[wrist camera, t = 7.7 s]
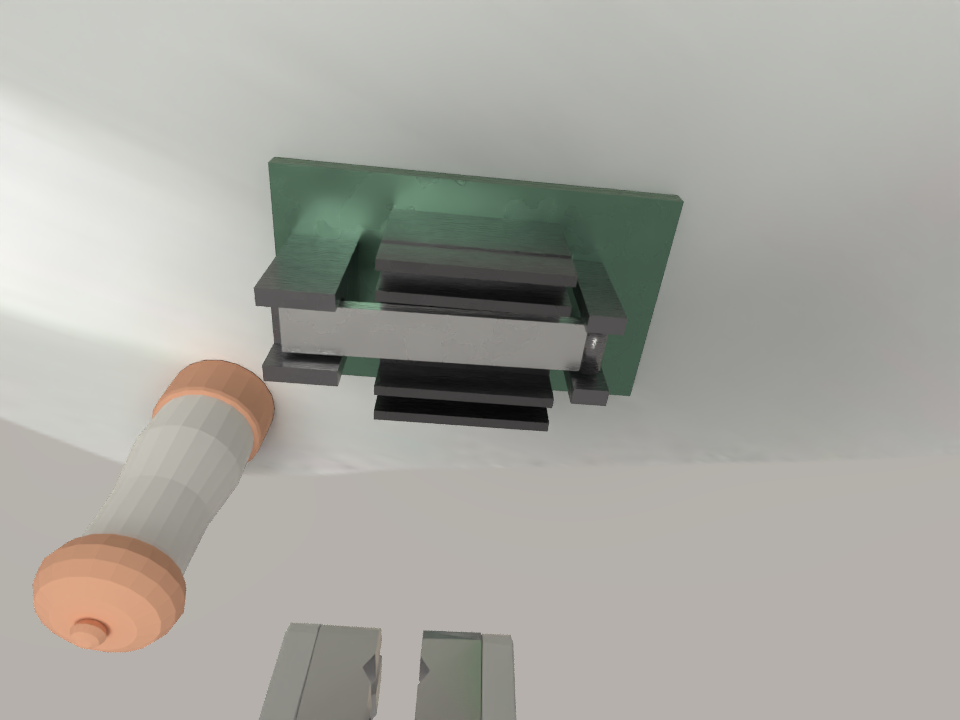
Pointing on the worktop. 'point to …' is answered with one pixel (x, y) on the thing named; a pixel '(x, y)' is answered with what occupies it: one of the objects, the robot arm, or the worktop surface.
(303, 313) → the steel strap
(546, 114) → the worktop surface
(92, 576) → the pepper shaker
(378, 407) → the cooling board
